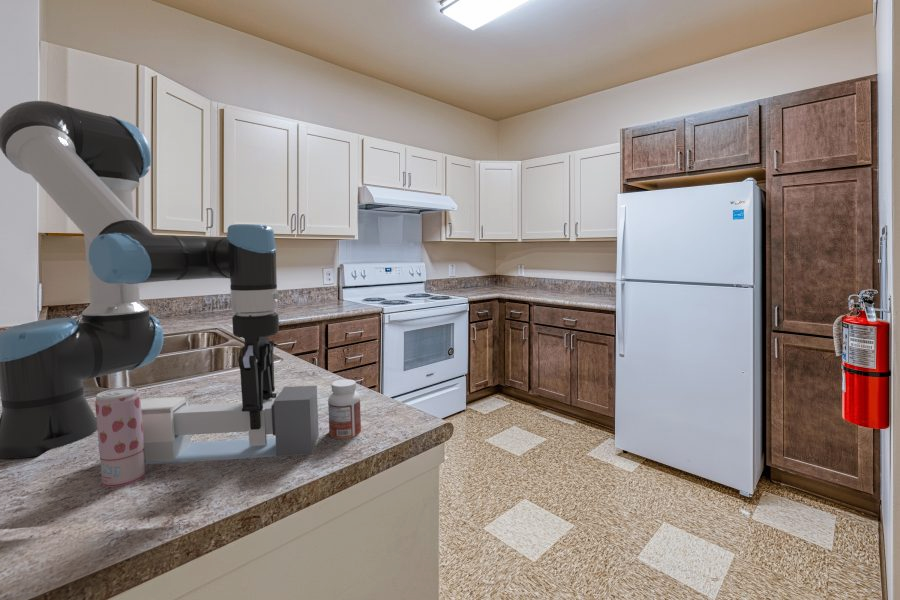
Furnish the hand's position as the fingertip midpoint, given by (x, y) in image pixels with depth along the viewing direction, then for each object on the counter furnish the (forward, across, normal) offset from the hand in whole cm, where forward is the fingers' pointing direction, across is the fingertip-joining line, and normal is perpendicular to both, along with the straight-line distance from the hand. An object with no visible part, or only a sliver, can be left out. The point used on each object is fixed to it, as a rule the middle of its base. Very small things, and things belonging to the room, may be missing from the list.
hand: (261, 438), depth 80 cm
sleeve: (+2, 0, +18) cm, 18 cm away
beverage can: (+3, -8, +19) cm, 21 cm away
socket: (+2, 0, -6) cm, 7 cm away
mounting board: (+3, 0, +7) cm, 7 cm away
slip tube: (-2, 0, +5) cm, 5 cm away
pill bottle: (+3, +5, -14) cm, 16 cm away
